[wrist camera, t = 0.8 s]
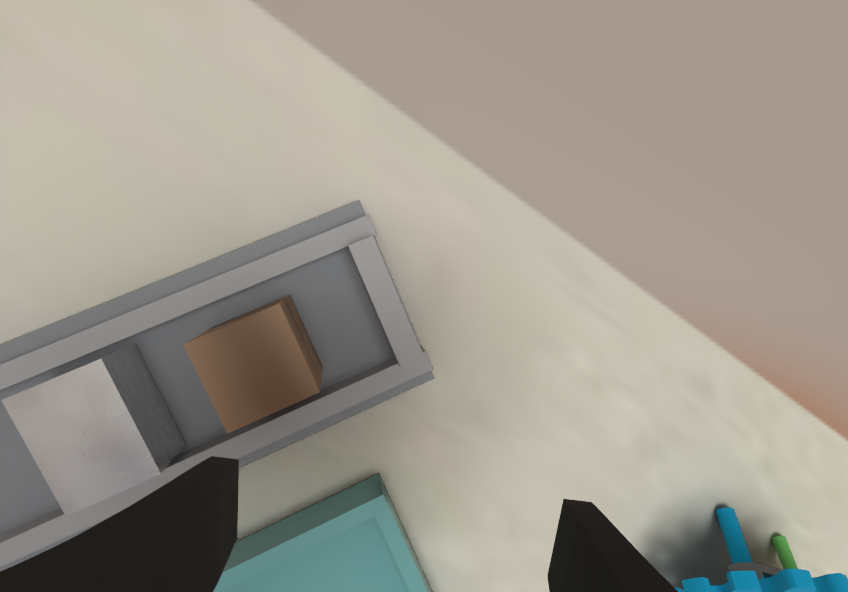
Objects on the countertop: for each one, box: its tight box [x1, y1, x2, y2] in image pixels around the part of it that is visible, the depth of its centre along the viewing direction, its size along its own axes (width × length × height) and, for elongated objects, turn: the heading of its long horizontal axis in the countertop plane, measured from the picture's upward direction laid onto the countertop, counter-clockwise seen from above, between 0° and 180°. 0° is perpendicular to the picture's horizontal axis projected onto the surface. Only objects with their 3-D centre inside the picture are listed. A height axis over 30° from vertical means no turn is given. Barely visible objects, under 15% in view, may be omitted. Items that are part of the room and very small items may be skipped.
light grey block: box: [1, 344, 185, 517], centre depth 23 cm, size 4×5×4 cm
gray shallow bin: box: [0, 201, 434, 571], centre depth 24 cm, size 22×10×4 cm, turn 113°
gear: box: [674, 508, 848, 592], centre depth 29 cm, size 11×6×10 cm
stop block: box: [183, 295, 323, 434], centre depth 23 cm, size 4×4×5 cm
